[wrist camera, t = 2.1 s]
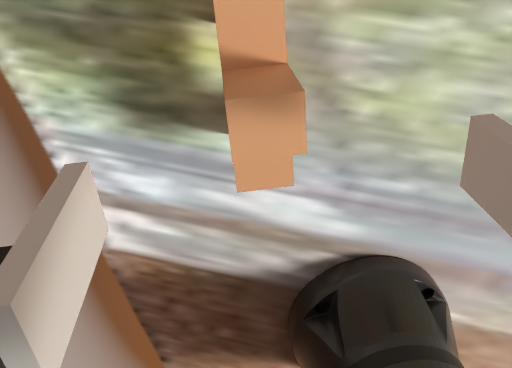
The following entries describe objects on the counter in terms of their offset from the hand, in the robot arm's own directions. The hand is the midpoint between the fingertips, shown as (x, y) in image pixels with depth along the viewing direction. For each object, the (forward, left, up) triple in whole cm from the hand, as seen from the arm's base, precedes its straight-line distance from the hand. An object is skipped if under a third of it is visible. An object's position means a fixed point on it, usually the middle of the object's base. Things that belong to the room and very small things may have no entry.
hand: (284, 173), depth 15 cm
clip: (0, 0, -18) cm, 18 cm away
